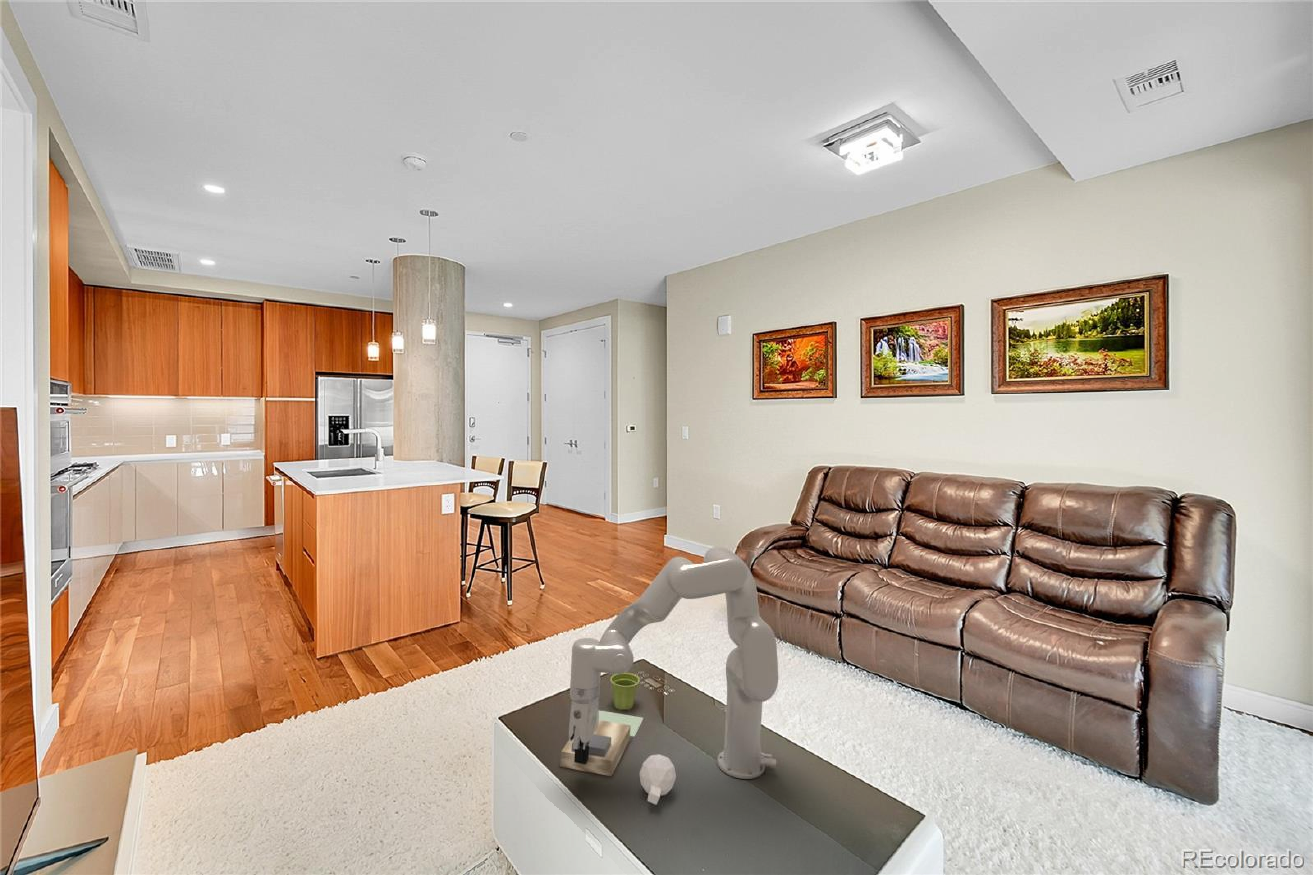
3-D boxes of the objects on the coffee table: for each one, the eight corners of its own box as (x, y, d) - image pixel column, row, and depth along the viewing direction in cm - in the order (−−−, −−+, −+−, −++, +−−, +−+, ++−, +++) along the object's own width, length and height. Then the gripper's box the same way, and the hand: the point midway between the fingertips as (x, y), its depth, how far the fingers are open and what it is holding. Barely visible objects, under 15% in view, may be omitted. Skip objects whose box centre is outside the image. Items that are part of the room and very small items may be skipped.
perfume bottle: (637, 770, 144) (630, 806, 132) (649, 740, 143) (643, 774, 131) (669, 783, 144) (664, 821, 132) (681, 753, 142) (678, 789, 130)
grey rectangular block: (611, 744, 151) (611, 737, 151) (604, 757, 146) (604, 749, 145) (579, 738, 153) (579, 731, 153) (571, 751, 147) (571, 743, 147)
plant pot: (643, 704, 182) (645, 678, 182) (627, 716, 174) (628, 688, 174) (620, 696, 187) (621, 670, 187) (603, 707, 179) (604, 680, 179)
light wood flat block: (629, 739, 162) (630, 725, 162) (611, 776, 144) (612, 761, 144) (584, 731, 165) (584, 717, 165) (560, 766, 147) (561, 751, 147)
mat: (643, 718, 173) (643, 717, 173) (634, 737, 163) (634, 736, 163) (594, 710, 177) (594, 709, 177) (582, 728, 166) (582, 727, 166)
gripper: (589, 706, 133) (585, 782, 134) (608, 679, 148) (604, 748, 148) (559, 701, 135) (555, 776, 135) (581, 675, 149) (577, 743, 150)
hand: (581, 761), depth 142 cm, fingers closed
